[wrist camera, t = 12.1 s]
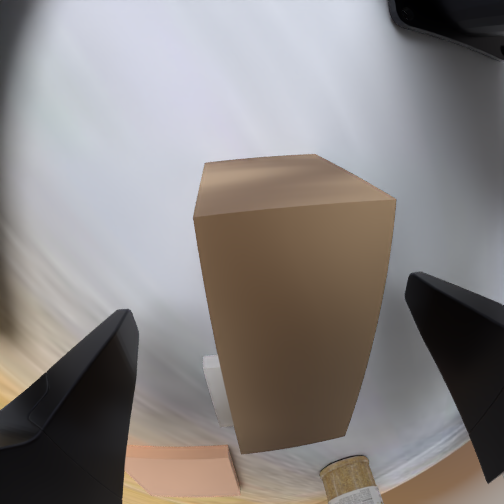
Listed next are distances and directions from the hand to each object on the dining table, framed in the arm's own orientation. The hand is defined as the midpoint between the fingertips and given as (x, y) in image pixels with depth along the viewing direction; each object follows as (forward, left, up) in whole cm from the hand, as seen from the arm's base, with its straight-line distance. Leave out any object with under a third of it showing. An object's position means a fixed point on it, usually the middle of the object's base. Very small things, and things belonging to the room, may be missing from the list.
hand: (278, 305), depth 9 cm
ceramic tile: (+7, +13, -2) cm, 15 cm away
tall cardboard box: (0, +3, -2) cm, 3 cm away
